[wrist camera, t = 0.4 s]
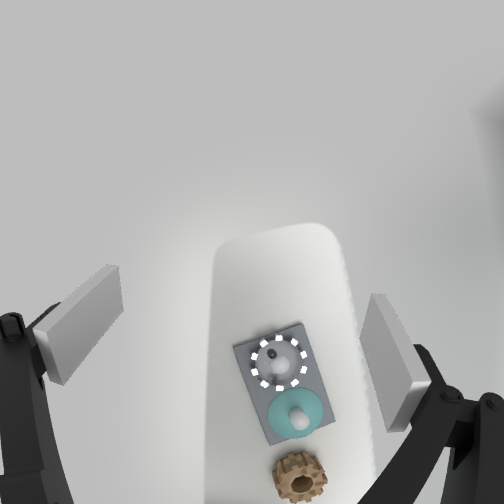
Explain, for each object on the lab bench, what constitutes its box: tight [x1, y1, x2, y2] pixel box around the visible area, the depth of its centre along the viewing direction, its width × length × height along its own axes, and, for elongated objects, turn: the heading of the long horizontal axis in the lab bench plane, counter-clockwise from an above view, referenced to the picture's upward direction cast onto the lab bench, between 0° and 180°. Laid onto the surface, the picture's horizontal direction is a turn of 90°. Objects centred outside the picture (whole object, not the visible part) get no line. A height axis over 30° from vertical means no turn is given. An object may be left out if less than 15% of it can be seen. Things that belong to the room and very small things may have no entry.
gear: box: [250, 334, 307, 391], centre depth 44 cm, size 8×8×5 cm
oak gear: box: [273, 451, 328, 504], centre depth 42 cm, size 8×8×5 cm
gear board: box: [233, 324, 335, 446], centre depth 44 cm, size 17×11×6 cm, turn 19°
